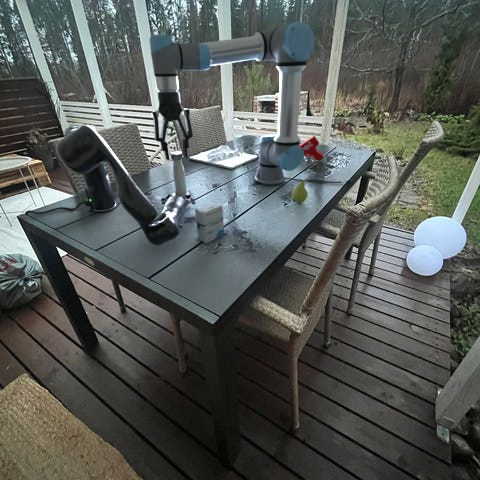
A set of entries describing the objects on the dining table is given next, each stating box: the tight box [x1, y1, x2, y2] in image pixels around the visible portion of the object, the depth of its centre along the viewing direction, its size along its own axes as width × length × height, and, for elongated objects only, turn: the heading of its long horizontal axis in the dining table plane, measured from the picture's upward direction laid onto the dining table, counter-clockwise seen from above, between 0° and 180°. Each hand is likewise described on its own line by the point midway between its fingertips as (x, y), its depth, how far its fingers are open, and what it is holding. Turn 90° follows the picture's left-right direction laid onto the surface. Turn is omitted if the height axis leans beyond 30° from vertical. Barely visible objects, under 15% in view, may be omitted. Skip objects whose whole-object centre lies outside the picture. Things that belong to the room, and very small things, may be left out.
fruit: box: [291, 174, 311, 204], centre depth 118 cm, size 7×8×12 cm
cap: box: [170, 151, 183, 161], centre depth 105 cm, size 4×4×2 cm
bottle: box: [172, 159, 190, 211], centre depth 111 cm, size 4×4×23 cm
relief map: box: [189, 144, 258, 170], centre depth 177 cm, size 27×35×5 cm
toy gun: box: [300, 135, 324, 163], centre depth 172 cm, size 18×4×15 cm
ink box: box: [194, 201, 225, 244], centre depth 94 cm, size 8×5×12 cm, turn 135°
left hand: (182, 191), depth 116 cm, fingers closed on bottle, 4 cm apart
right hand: (176, 158), depth 106 cm, fingers open, 7 cm apart
